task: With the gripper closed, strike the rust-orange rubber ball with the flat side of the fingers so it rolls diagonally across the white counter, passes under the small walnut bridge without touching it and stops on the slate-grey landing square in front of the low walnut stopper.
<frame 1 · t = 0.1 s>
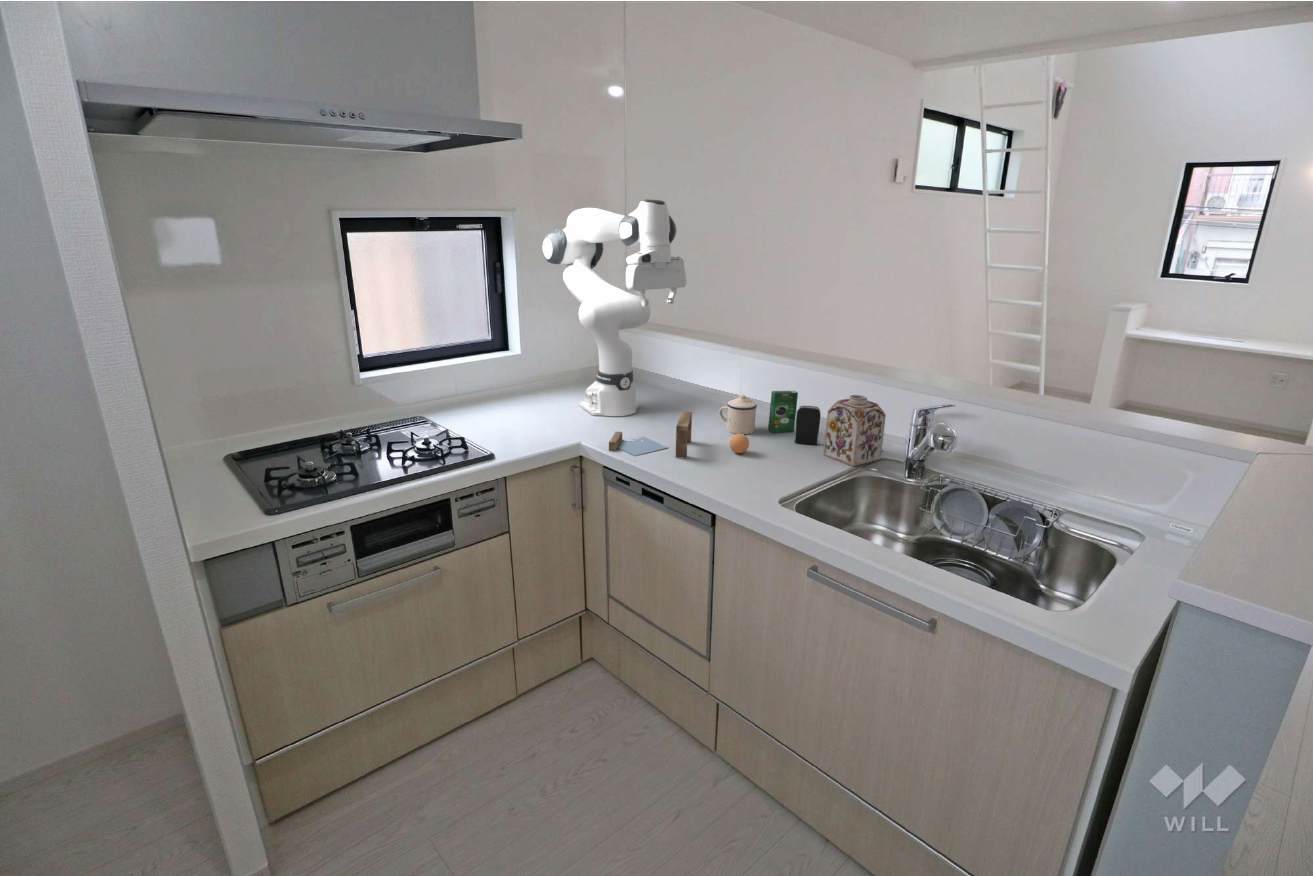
hand: (657, 304, 202), 39 cm above the worktop, tool pointing down, fingers open, 8 cm apart
ball: (739, 443, 193), on the worktop
decorative jar: (851, 458, 192), on the worktop
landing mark: (639, 446, 198), on the worktop
teacup with lid: (736, 430, 214), on the worktop
bridge: (683, 449, 196), on the worktop
coffee box: (781, 432, 214), on the worktop
stopper: (615, 444, 199), on the worktop
battery charger: (806, 443, 204), on the worktop
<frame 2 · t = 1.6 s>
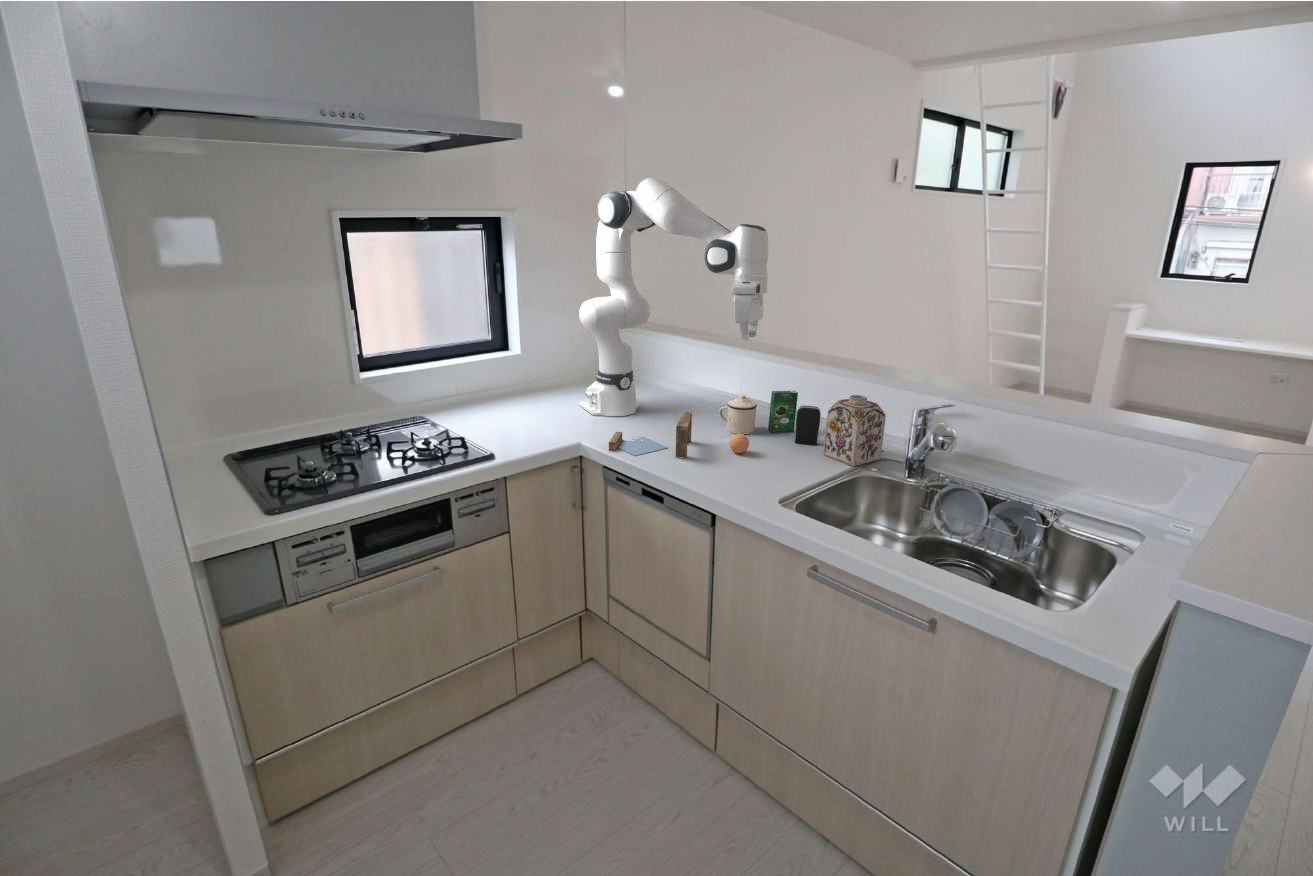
hand: (748, 338, 185), 33 cm above the worktop, tool pointing down, fingers open, 8 cm apart
nothing on the worktop moved.
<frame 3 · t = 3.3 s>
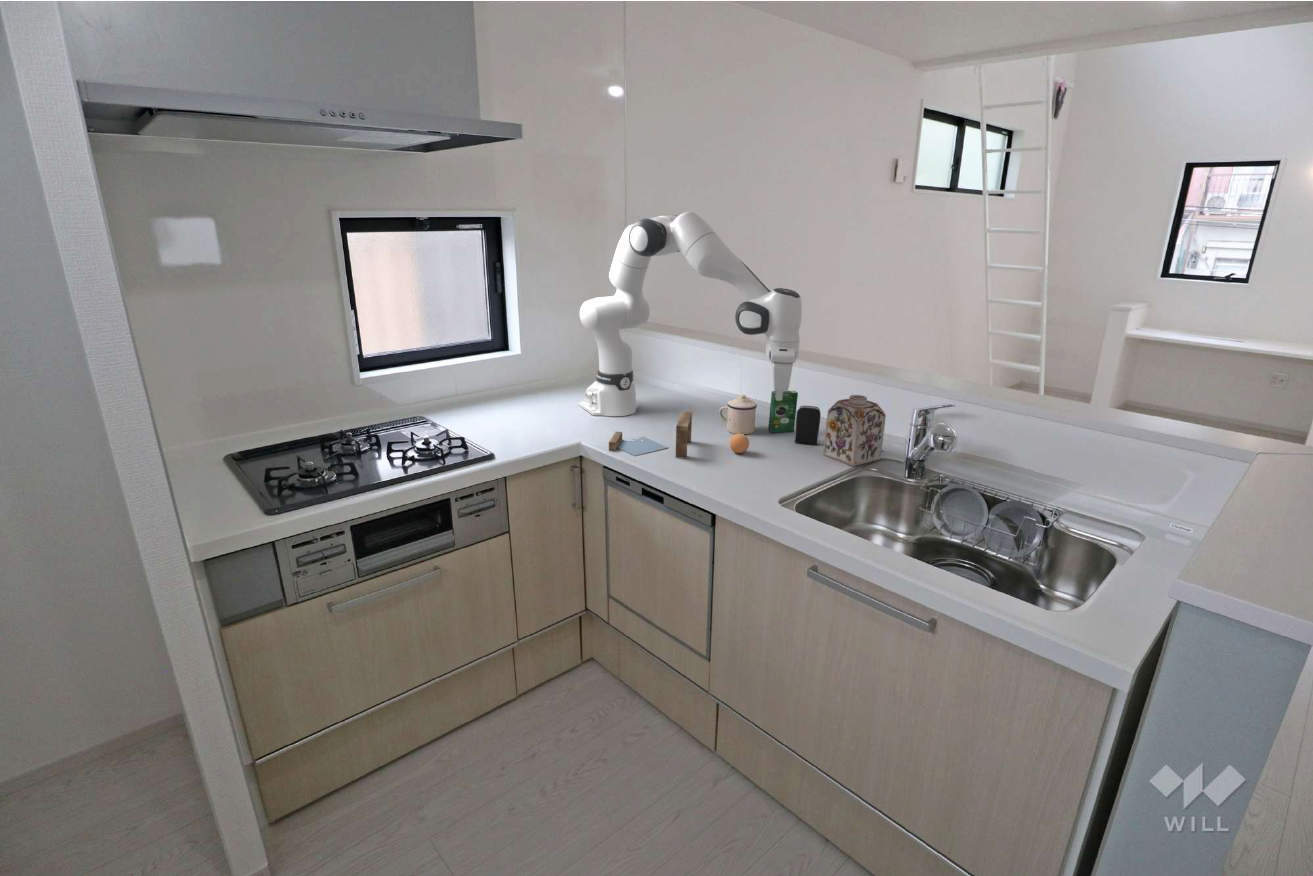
hand: (778, 399, 188), 16 cm above the worktop, tool pointing down, fingers closed
nothing on the worktop moved.
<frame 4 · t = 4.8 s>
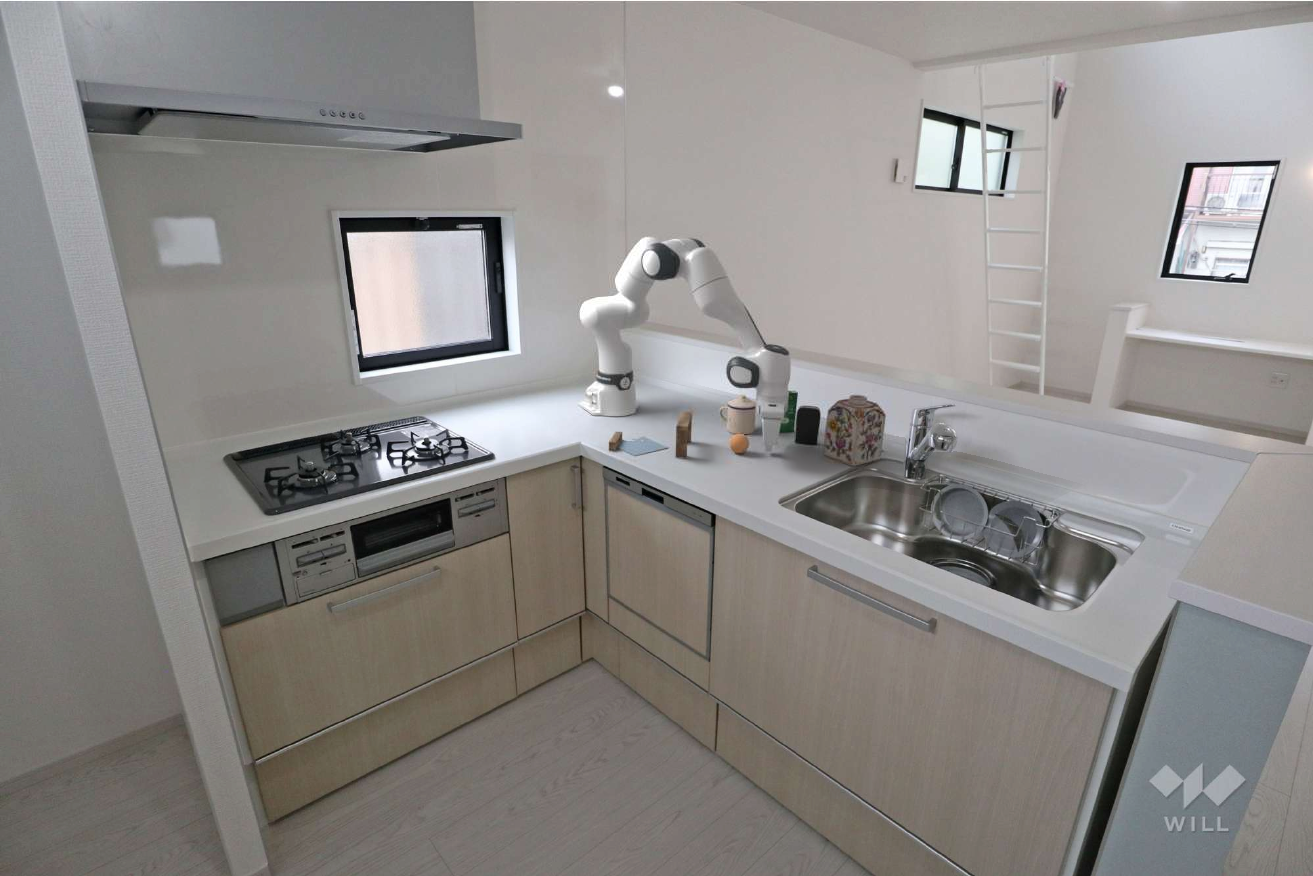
hand: (768, 450, 193), 1 cm above the worktop, tool pointing down, fingers closed
nothing on the worktop moved.
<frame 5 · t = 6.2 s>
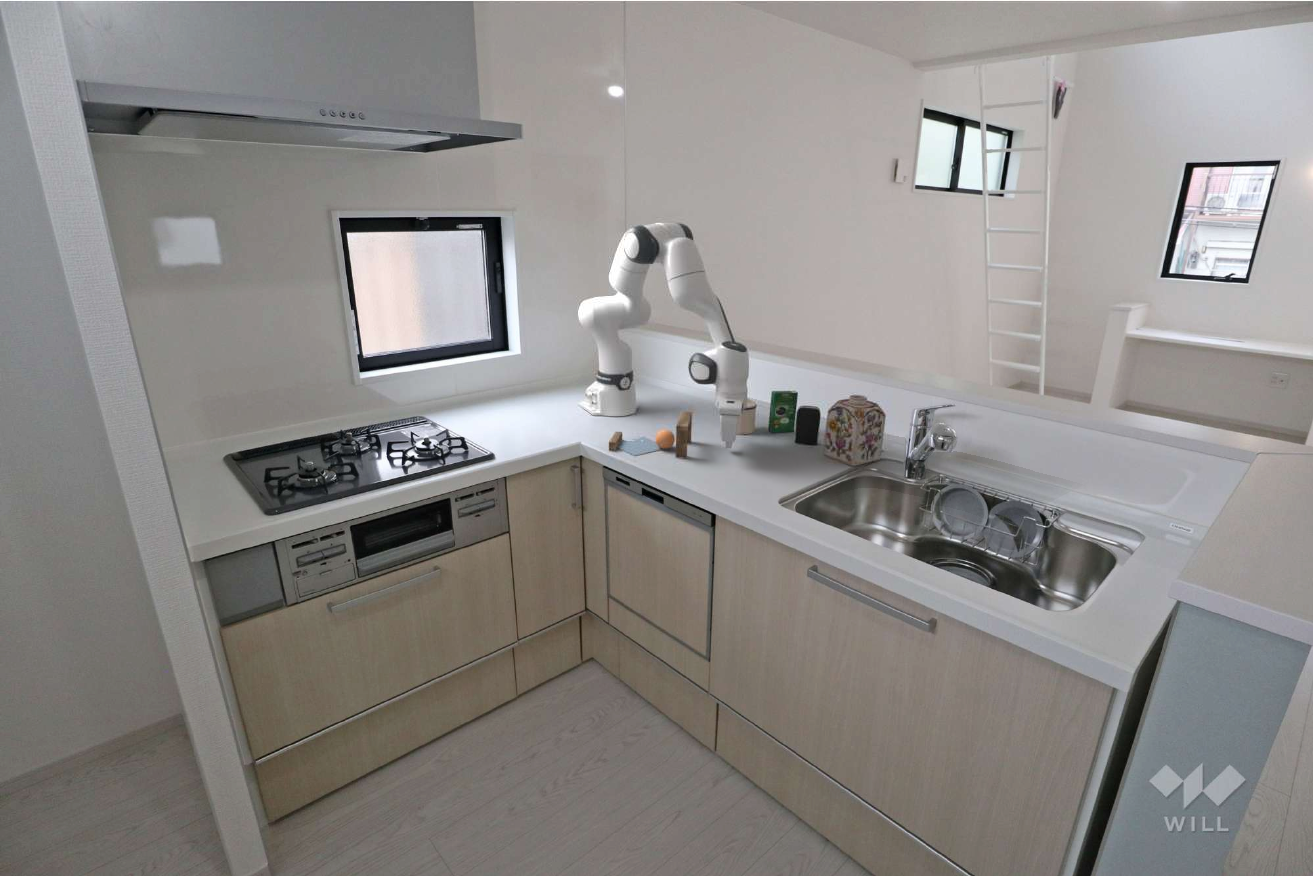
hand: (728, 446, 194), 2 cm above the worktop, tool pointing down, fingers closed
ball: (665, 439, 196), on the worktop
everything else where it was.
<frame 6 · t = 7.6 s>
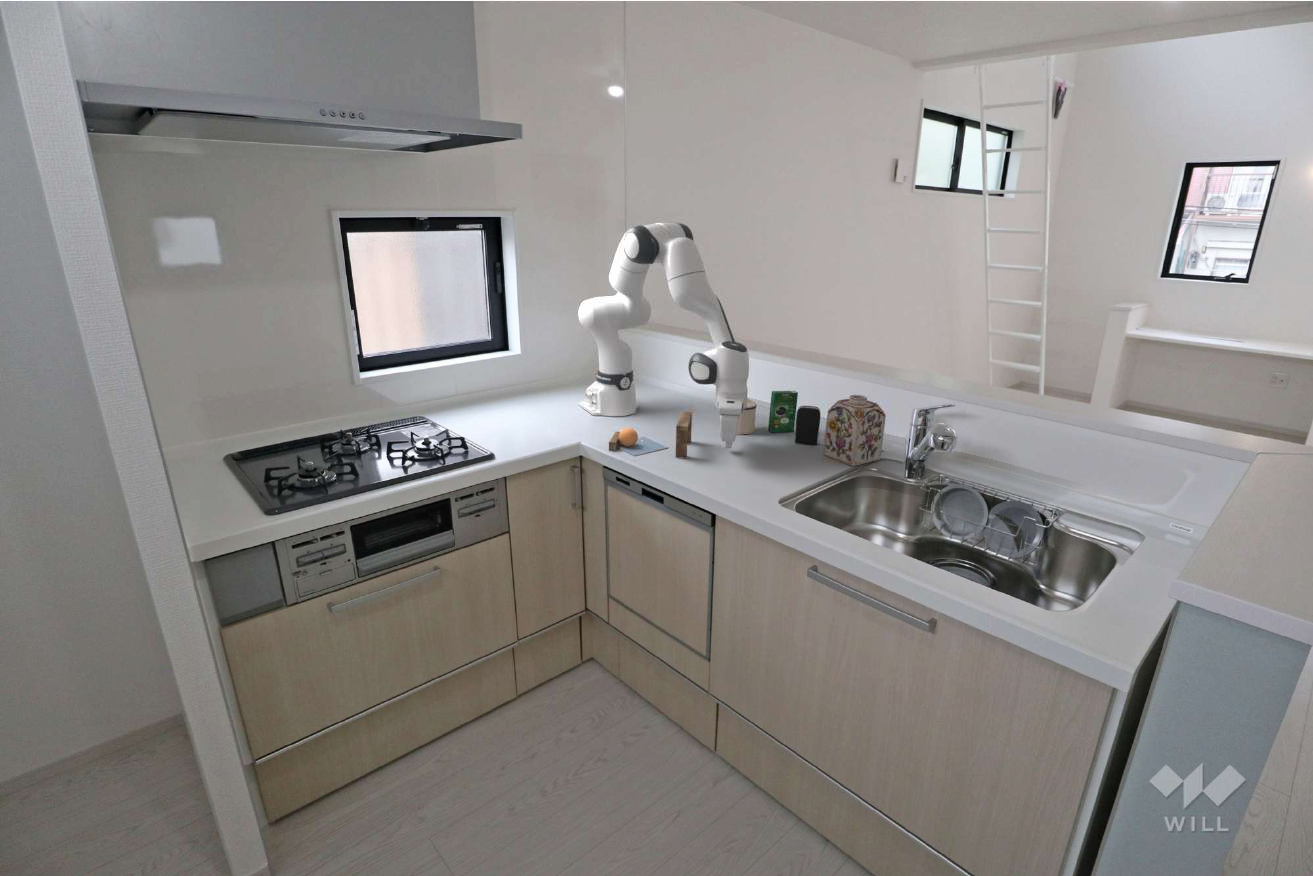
hand: (728, 446, 194), 2 cm above the worktop, tool pointing down, fingers closed
ball: (628, 437, 197), on the worktop
everything else where it was.
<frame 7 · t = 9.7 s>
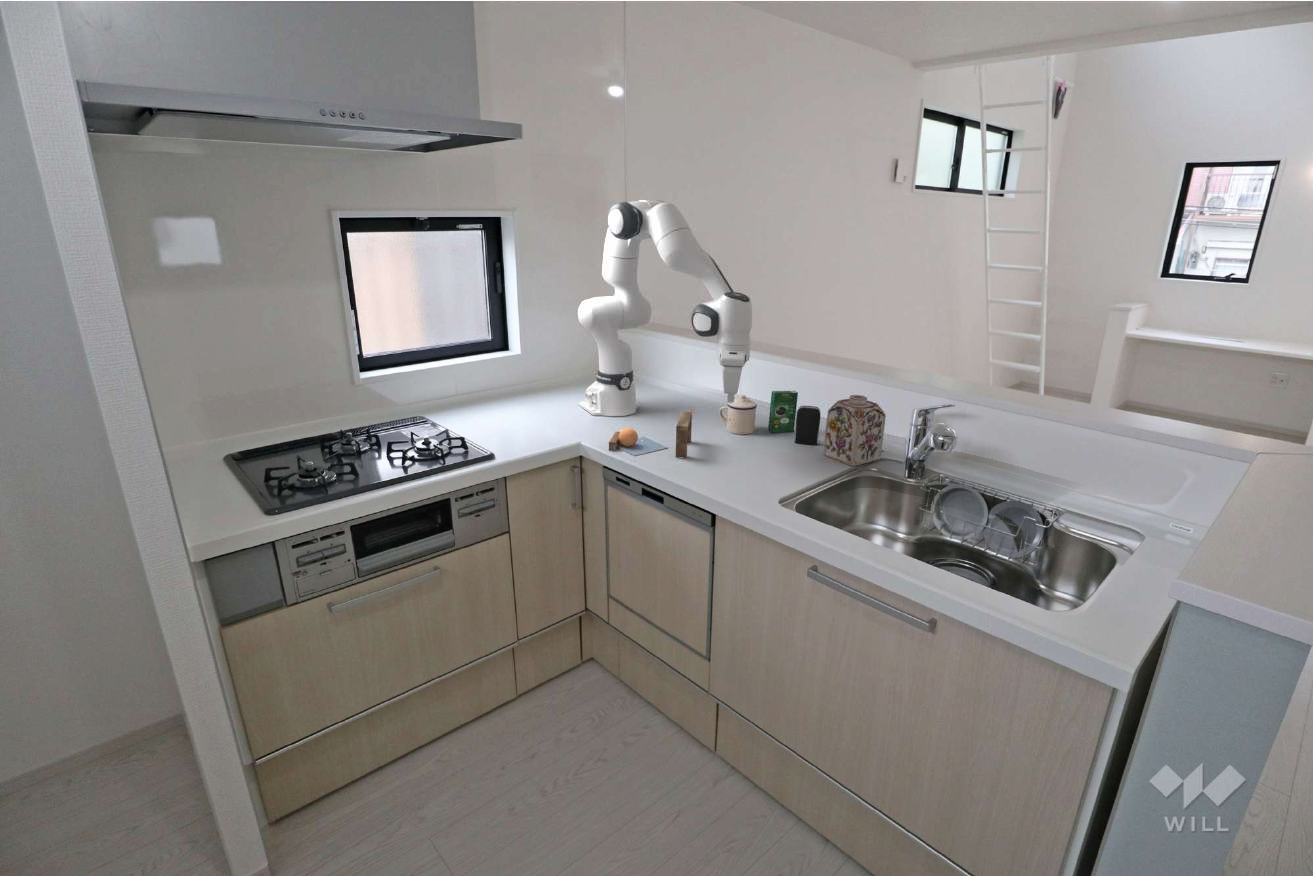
hand: (730, 401, 190), 15 cm above the worktop, tool pointing down, fingers closed
nothing on the worktop moved.
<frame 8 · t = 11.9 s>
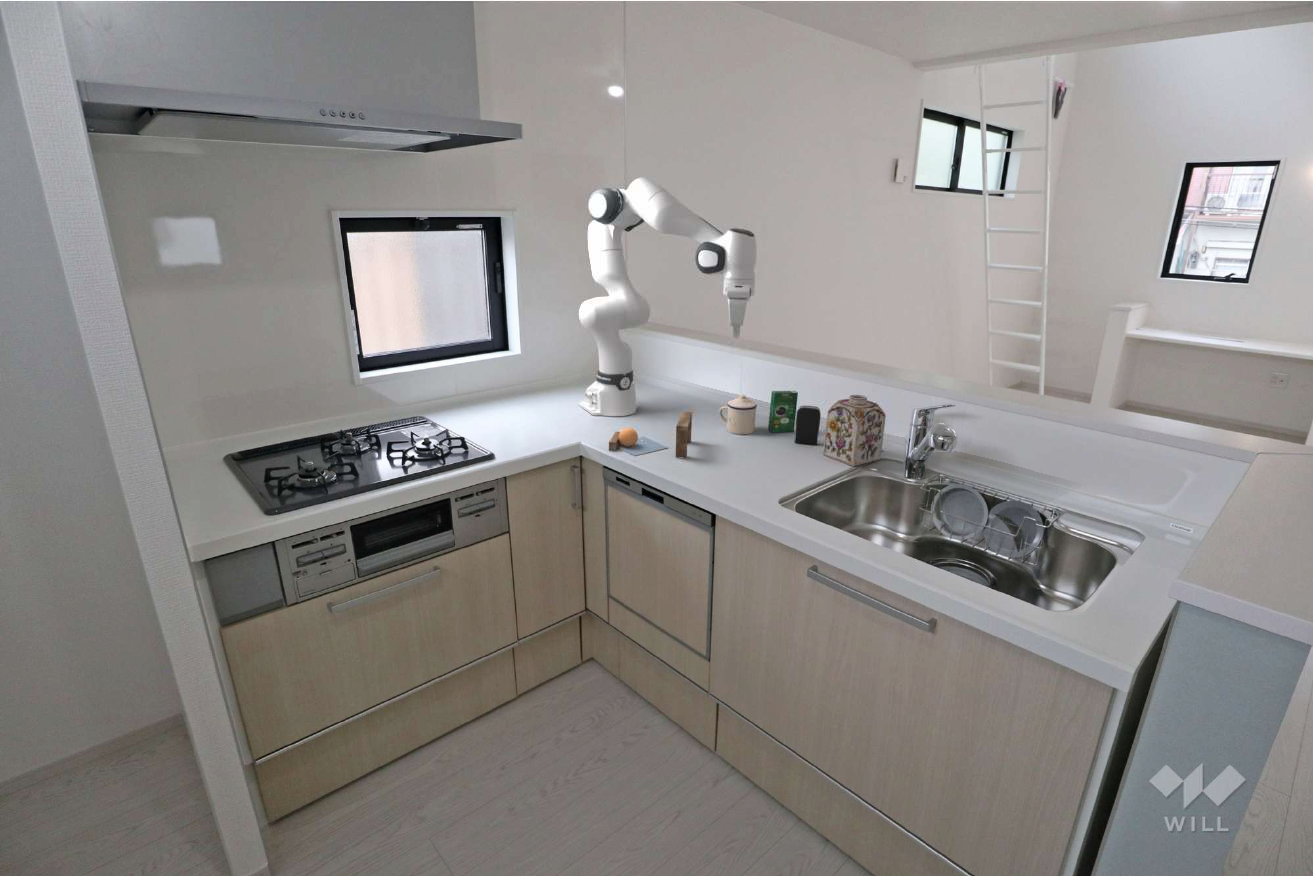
hand: (736, 336, 196), 31 cm above the worktop, tool pointing down, fingers closed
nothing on the worktop moved.
at the end: ball 3.3 cm from the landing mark (horizontally); ball never touched bridge; ball at rest at the end (0.0 cm/s) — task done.
